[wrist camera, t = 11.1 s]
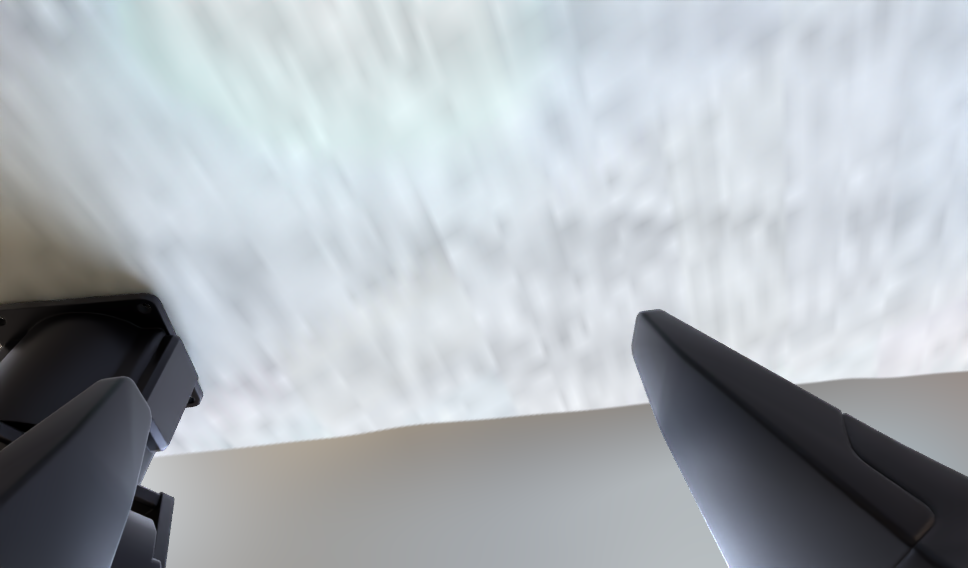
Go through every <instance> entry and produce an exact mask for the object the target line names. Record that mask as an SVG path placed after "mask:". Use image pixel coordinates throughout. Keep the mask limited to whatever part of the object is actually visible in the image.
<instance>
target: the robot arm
mask: <svg viewBox="0 0 968 568" xmlns="http://www.w3.org/2000/svg"><path fill="white" fill-rule="evenodd" d="M143 304H147V305H149V306H150V307H151V308H149V307H145V306H144V305H143ZM0 317H2V318H4V319H2V318H0V344H1V345H2V346H3V347H2V348H1V349H0V568H165V567H166V559H167V552H168V544H169V536H170V529H171V521H172V514H173V506H174V497H171V496H169V495H167V494H165V493H163V492H160V493H156V492H154V491H152V490H150V489H148V488H146V487H143V486H141V485H140V484H141V482H142V480H143V478H144V475H145V473H146V471H147V469H148V467H149V464H150V462H151V460H152V458H153V456H154V454H155V452H157V451H164V450H165V449H166V447H167V446H168V445H169V444H170V441H171V439H172V437H173V435H174V432H175V430H176V428H177V425H178V423H179V421H180V419H181V416H182V414H183V412H184V410H185V408H187V407H194V406H197V405H199V404H200V402H201V399H202V397H203V392H202V390H201V388H200V385H199V383H198V381H197V380H198V375H197V373H196V371H195V368H194V366H193V364H192V362H191V360H190V357H189V355H188V353H187V351H186V349H185V347H184V344H183V342H182V340H181V339H180V338H179V337H178V336H177V335H176V334H175V331H174V329H173V327H172V325H171V323H170V321H169V318H168V316H167V314H166V312H165V310H164V308H163V305H162V303H161V301H160V300H159V299H158V298H157V297H156V296H154V295H152V294H149V293H139V294H127V295H114V296H102V297H90V298H77V299H65V300H52V301H40V302H28V303H15V304H3V305H0ZM632 354H633V358H634V361H635V363H636V366H637V369H638V372H639V375H640V377H641V380H642V383H643V386H644V388H645V391H646V394H647V397H648V399H649V402H650V405H651V407H652V410H653V413H654V416H655V418H656V421H657V423H658V426H659V428H660V430H661V432H662V435H663V437H664V439H665V441H666V443H667V445H668V447H669V449H670V451H671V453H672V455H673V457H674V459H675V461H676V463H677V465H678V467H679V469H680V471H681V473H682V475H683V477H684V479H685V481H686V483H687V485H688V487H689V489H690V491H691V493H692V495H693V497H694V499H695V501H696V503H697V505H698V507H699V509H700V511H701V513H702V515H703V517H704V519H705V521H706V523H707V525H708V527H709V529H710V531H711V533H712V535H713V537H714V539H715V541H716V543H717V545H718V547H719V549H720V551H721V553H722V555H723V557H724V559H725V561H726V563H727V565H728V567H729V568H968V477H967V476H965V475H963V474H961V473H959V472H957V471H955V470H953V469H951V468H949V467H947V466H945V465H943V464H941V463H939V462H937V461H935V460H933V459H931V458H929V457H927V456H925V455H923V454H921V453H919V452H917V451H915V450H913V449H911V448H909V447H907V446H905V445H903V444H901V443H900V442H898V441H896V440H894V439H892V438H890V437H888V436H887V435H885V434H883V433H881V432H879V431H877V430H875V429H874V428H872V427H870V426H868V425H866V424H865V423H863V422H861V421H859V420H857V419H856V418H854V417H852V416H850V415H849V414H847V413H843V414H842V412H841V410H839V409H837V408H836V407H834V406H832V405H830V404H829V403H827V402H825V401H823V400H821V399H820V398H818V397H816V396H814V395H813V394H811V393H809V392H807V391H805V390H804V389H802V388H800V387H798V386H797V385H795V384H793V383H791V382H789V381H788V380H786V379H784V378H782V377H781V376H779V375H777V374H775V373H773V372H772V371H770V370H768V369H766V368H765V367H763V366H761V365H759V364H757V363H756V362H754V361H752V360H750V359H748V358H747V357H745V356H743V355H741V354H740V353H738V352H736V351H734V350H732V349H731V348H729V347H727V346H725V345H724V344H722V343H720V342H718V341H716V340H715V339H713V338H711V337H709V336H707V335H706V334H704V333H702V332H700V331H699V330H697V329H695V328H693V327H691V326H690V325H688V324H686V323H684V322H683V321H681V320H679V319H677V318H675V317H674V316H672V315H670V314H668V313H666V312H665V311H663V310H660V309H656V310H648V311H641V312H640V313H639V314H638V315H637V318H636V322H635V328H634V334H633V339H632ZM190 396H191V397H190Z"/></svg>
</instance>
